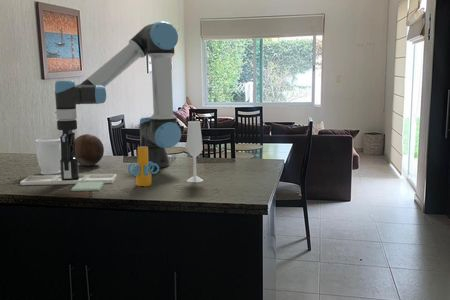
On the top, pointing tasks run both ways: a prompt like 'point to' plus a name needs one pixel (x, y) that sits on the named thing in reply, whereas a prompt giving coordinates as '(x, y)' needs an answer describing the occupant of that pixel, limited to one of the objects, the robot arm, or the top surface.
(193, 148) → the champagne flute
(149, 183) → the orange and blue toy
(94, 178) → the tray
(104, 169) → the top surface
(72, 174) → the supplement bottle
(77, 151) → the wooden sphere
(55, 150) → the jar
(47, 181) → the tray
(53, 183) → the tray middle
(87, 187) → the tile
